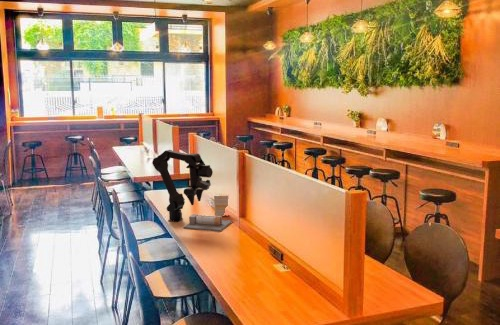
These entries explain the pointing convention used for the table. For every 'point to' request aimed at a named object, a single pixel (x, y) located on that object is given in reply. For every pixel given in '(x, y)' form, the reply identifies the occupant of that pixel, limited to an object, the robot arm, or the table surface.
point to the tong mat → (205, 225)
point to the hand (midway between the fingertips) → (196, 203)
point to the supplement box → (220, 204)
